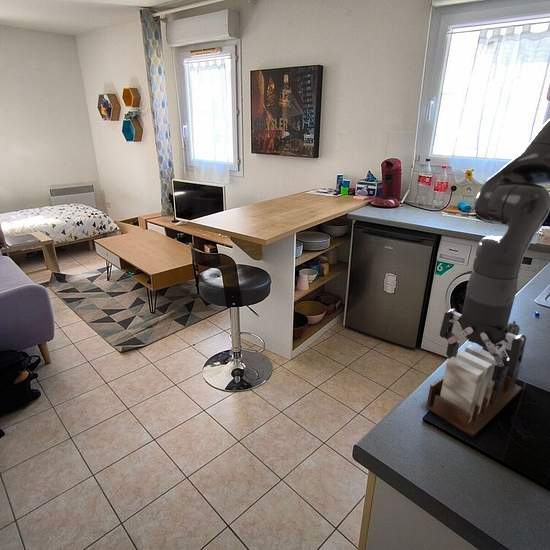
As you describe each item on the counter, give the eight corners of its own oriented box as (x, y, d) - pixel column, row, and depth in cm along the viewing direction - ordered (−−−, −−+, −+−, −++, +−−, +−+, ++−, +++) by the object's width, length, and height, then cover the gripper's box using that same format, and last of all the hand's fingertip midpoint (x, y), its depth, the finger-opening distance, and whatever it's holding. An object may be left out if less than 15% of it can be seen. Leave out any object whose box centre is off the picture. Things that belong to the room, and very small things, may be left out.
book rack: (521, 390, 81) (536, 341, 76) (473, 437, 69) (487, 383, 64) (476, 368, 88) (487, 322, 83) (425, 407, 76) (434, 357, 72)
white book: (479, 412, 74) (492, 364, 69) (474, 417, 73) (487, 368, 68) (451, 396, 78) (461, 349, 74) (446, 400, 77) (456, 353, 73)
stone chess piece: (522, 367, 88) (535, 324, 83) (503, 372, 87) (515, 329, 82) (502, 354, 93) (513, 313, 89) (484, 358, 92) (494, 316, 87)
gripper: (543, 302, 62) (520, 379, 68) (461, 277, 73) (448, 345, 79) (524, 316, 58) (502, 396, 64) (441, 287, 69) (429, 358, 75)
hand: (472, 368), depth 72 cm, fingers open, 8 cm apart
